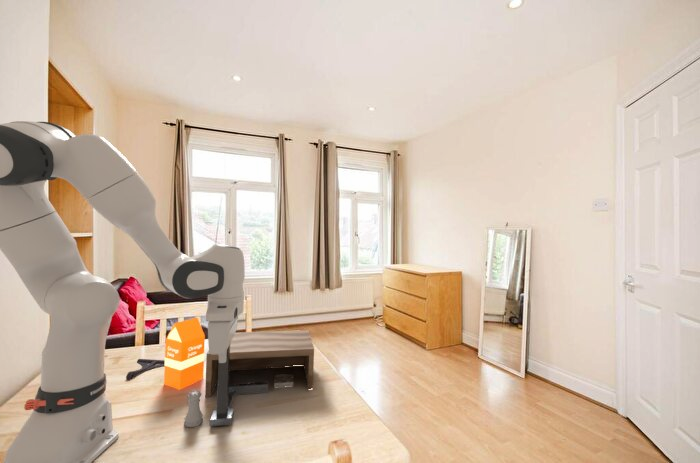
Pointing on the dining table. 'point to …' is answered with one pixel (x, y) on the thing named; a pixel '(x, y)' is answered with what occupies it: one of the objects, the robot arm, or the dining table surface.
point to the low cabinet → (264, 354)
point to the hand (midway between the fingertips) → (224, 359)
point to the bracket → (145, 367)
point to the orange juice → (184, 354)
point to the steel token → (283, 380)
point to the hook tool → (231, 394)
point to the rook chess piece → (193, 410)
